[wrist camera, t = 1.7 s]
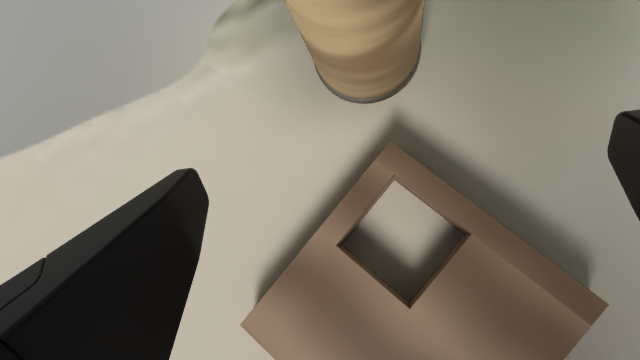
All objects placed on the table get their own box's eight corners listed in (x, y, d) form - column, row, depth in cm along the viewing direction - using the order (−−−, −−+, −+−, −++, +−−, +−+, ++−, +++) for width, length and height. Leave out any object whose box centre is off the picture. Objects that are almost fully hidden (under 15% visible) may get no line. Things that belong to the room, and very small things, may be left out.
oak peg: (376, 133, 23) (348, 2, 10) (302, 77, 24) (196, -100, 12) (439, 55, 23) (490, -172, 10) (361, 3, 24) (321, -255, 12)
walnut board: (430, 489, 20) (433, 516, 18) (253, 317, 23) (240, 324, 21) (588, 298, 20) (608, 304, 18) (391, 149, 23) (390, 140, 21)
